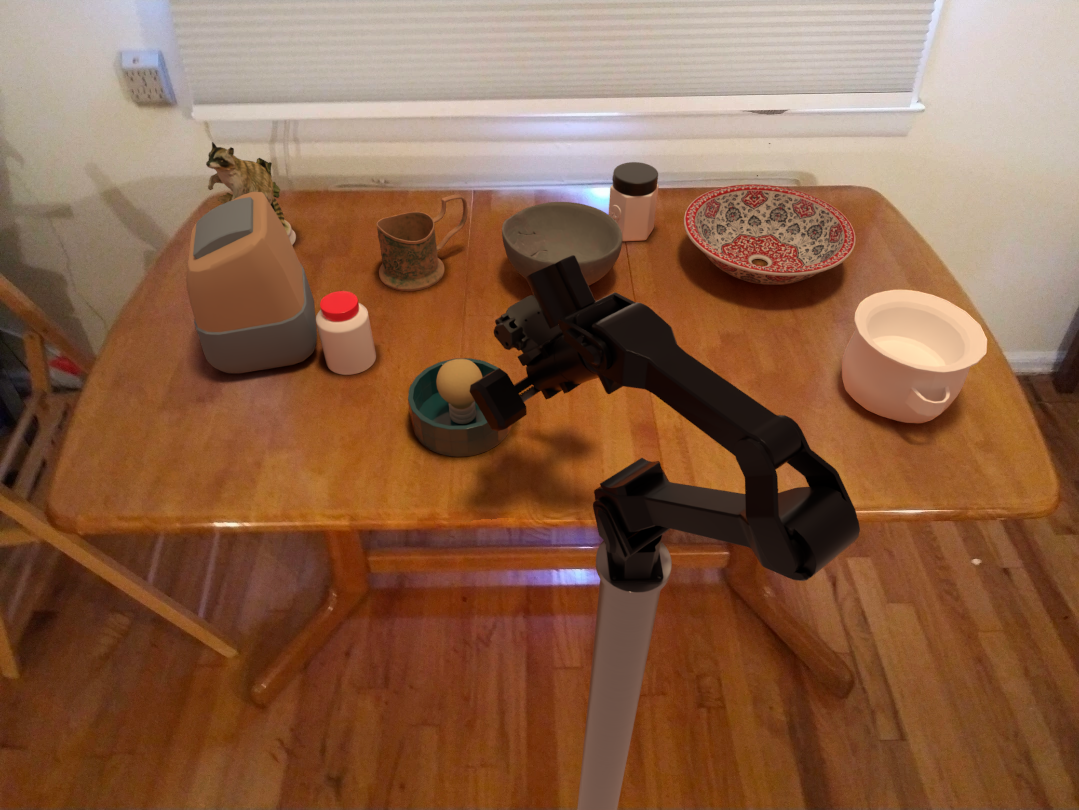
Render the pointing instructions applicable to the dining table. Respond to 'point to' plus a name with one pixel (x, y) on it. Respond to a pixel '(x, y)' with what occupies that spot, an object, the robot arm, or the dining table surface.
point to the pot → (910, 354)
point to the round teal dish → (437, 424)
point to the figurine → (245, 180)
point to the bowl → (562, 238)
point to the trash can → (249, 289)
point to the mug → (413, 248)
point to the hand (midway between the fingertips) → (511, 383)
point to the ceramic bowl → (768, 232)
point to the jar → (634, 199)
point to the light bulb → (458, 388)
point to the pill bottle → (345, 333)
